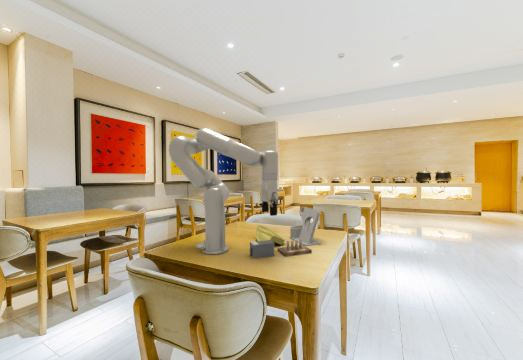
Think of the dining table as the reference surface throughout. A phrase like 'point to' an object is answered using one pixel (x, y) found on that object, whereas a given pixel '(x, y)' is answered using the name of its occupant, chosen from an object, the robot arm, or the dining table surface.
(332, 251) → the dining table surface
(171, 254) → the dining table surface
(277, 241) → the yellow-green folded towel
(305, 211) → the phone holder
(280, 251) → the brown peg board
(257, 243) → the block
